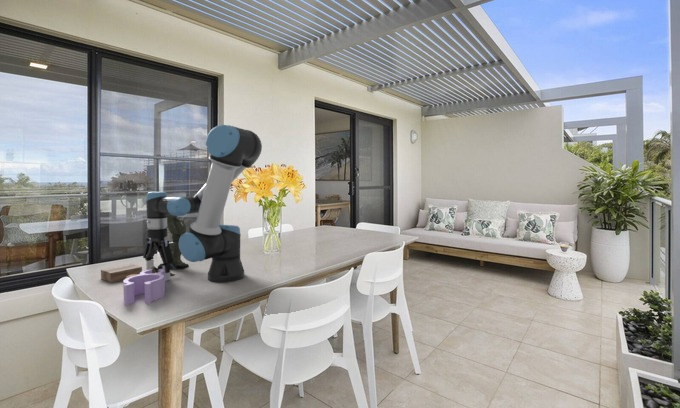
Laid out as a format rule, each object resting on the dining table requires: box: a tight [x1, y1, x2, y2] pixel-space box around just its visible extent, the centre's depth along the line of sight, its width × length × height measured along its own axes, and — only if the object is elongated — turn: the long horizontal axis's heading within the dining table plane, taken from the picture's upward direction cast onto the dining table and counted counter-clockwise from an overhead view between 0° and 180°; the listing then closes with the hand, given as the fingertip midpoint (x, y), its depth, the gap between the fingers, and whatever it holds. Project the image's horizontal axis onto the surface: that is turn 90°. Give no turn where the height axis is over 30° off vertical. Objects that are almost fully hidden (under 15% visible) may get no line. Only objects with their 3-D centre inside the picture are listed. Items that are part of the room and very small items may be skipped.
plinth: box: [100, 263, 143, 284], centre depth 137 cm, size 9×12×4 cm
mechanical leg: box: [166, 215, 189, 270], centre depth 154 cm, size 14×7×30 cm, turn 84°
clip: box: [122, 269, 166, 306], centre depth 117 cm, size 20×12×7 cm, turn 14°
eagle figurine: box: [151, 263, 177, 276], centre depth 139 cm, size 8×7×9 cm
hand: (158, 277), depth 137 cm, fingers open, 12 cm apart
